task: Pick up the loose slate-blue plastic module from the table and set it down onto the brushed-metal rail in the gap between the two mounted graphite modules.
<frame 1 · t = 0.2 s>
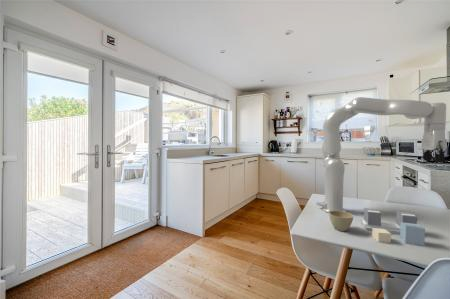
hand: (433, 161, 103), 31 cm above the table, fingers open, 9 cm apart
module: (411, 242, 82), on the table
olive bowl: (340, 229, 95), on the table
rail fixture: (388, 229, 94), on the table
beige cube: (381, 240, 84), on the table
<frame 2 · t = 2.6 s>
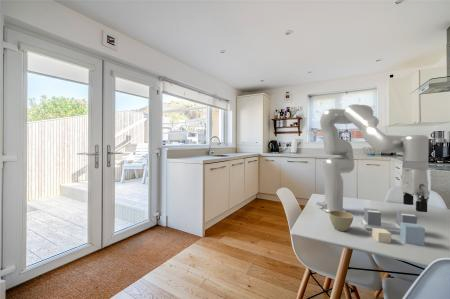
hand: (414, 207, 81), 14 cm above the table, fingers open, 9 cm apart
nothing on the table moved.
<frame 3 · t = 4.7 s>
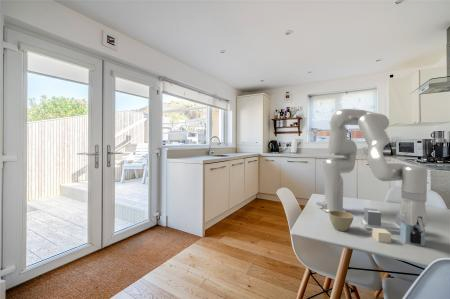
hand: (411, 239, 82), 1 cm above the table, fingers closed on module, 4 cm apart
module: (411, 242, 82), on the table, touching gripper
everything else where it was.
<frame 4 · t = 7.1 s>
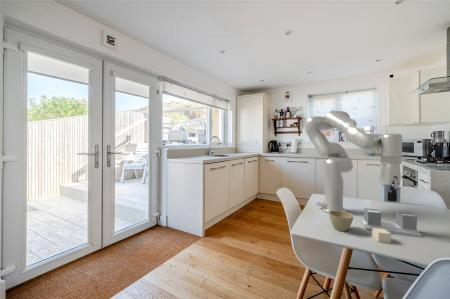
hand: (389, 199, 93), 14 cm above the table, fingers closed on module, 4 cm apart
module: (389, 200, 94), point 14 cm above the table, touching gripper
everything else where it was.
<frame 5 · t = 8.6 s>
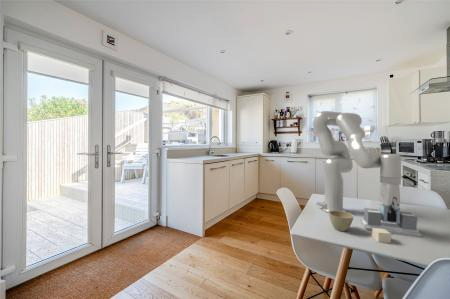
hand: (389, 218, 94), 5 cm above the table, fingers closed on module, 4 cm apart
module: (389, 220, 94), point 4 cm above the table, touching gripper
everything else where it was.
when the fingers open (4 cm above the table, at t = 9.6 s): module drops 1 cm, resting on rail fixture.
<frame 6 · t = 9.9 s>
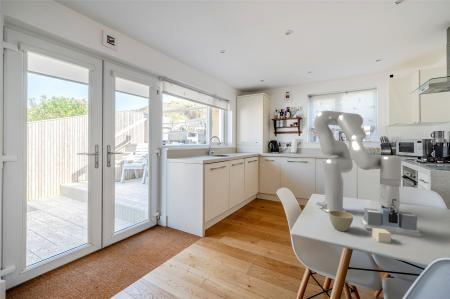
hand: (388, 219, 94), 5 cm above the table, fingers open, 8 cm apart
module: (388, 224, 94), point 2 cm above the table, touching rail fixture
everything else where it was.
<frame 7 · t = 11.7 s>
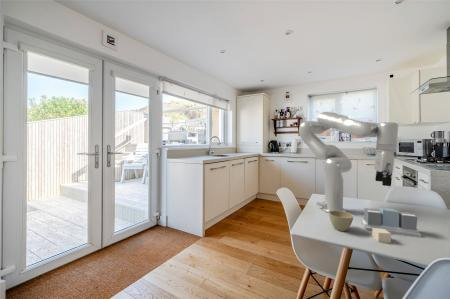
hand: (382, 183, 98), 21 cm above the table, fingers open, 9 cm apart
nothing on the table moved.
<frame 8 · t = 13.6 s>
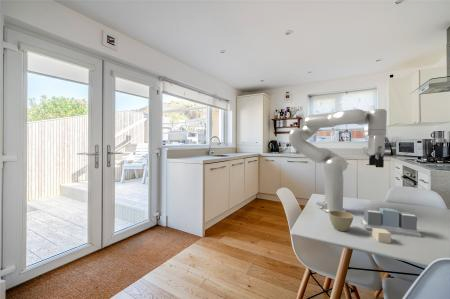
hand: (375, 166, 105), 28 cm above the table, fingers open, 9 cm apart
nothing on the table moved.
at the end: module 0.0 cm off-centre on the rail fixture, point 2.2 cm above the rail fixture's base; module tilted 0°; the gripper is holding nothing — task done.
